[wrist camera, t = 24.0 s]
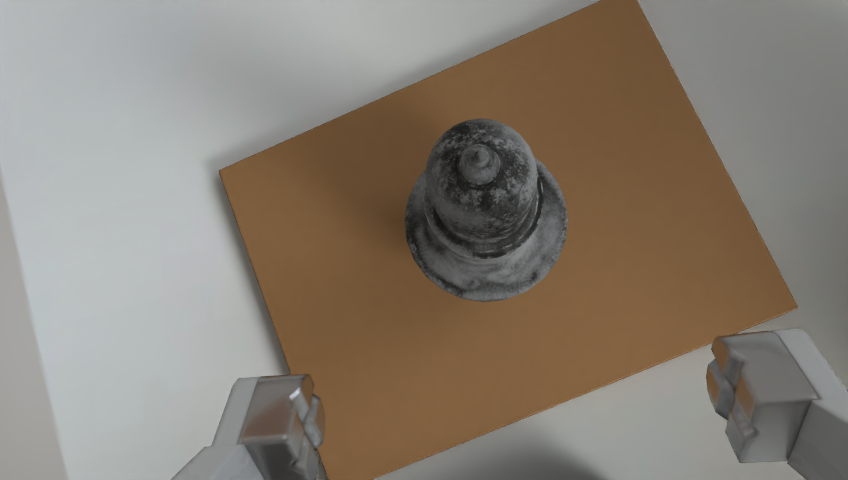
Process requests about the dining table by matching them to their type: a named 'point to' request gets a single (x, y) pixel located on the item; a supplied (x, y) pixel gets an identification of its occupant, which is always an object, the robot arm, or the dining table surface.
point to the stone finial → (485, 214)
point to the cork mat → (543, 303)
